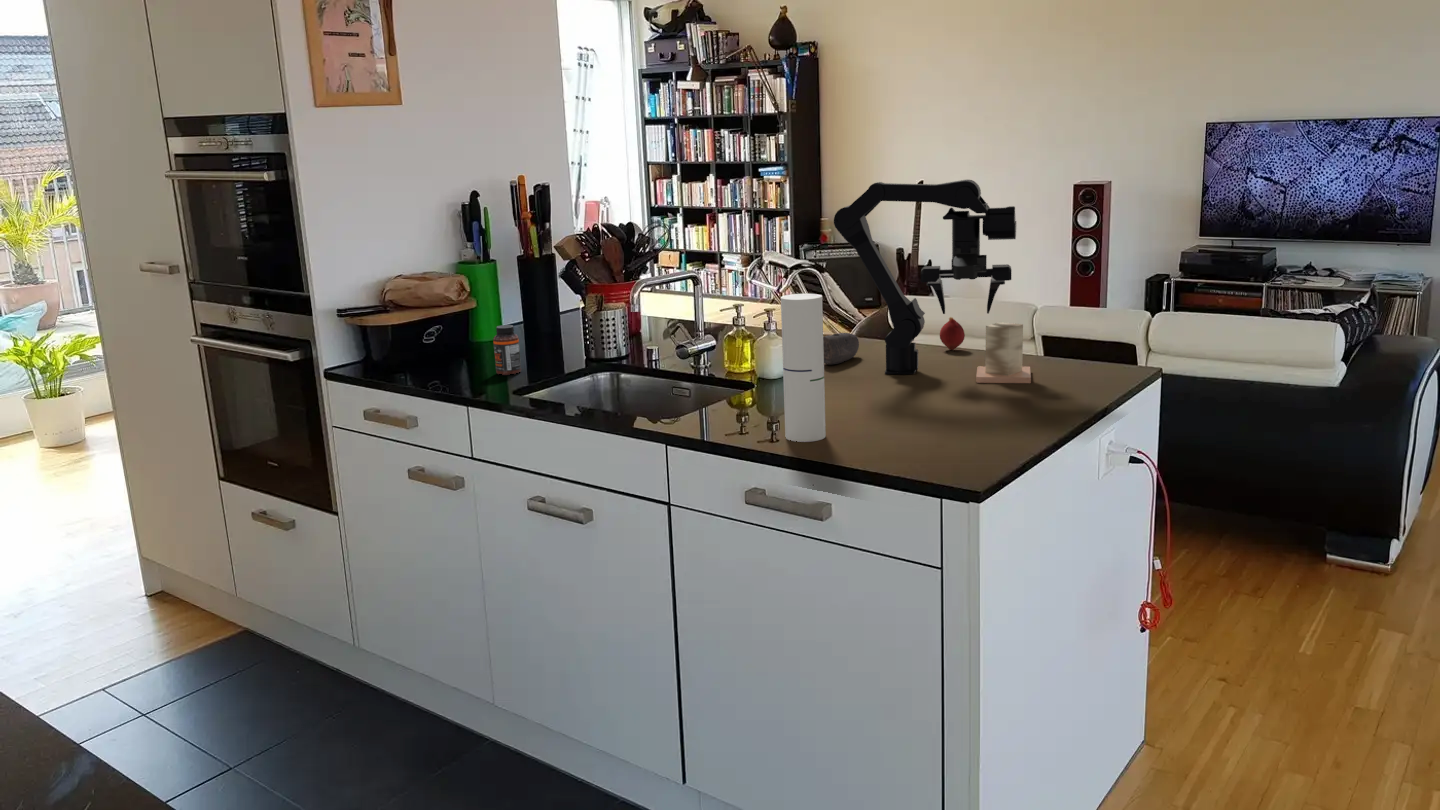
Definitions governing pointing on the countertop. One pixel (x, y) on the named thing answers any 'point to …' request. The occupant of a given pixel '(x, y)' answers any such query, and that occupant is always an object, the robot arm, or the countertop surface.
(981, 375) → the terracotta tile
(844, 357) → the perforated stone tool
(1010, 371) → the birch block
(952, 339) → the onion
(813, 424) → the cylindrical container
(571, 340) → the countertop surface
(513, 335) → the supplement bottle
